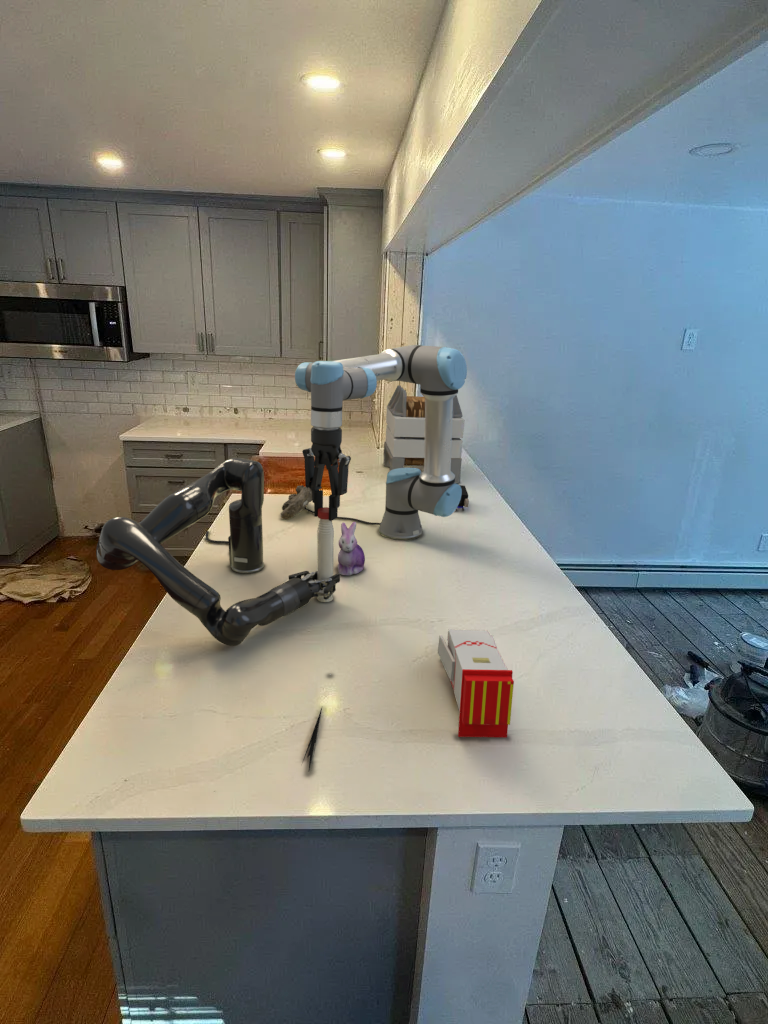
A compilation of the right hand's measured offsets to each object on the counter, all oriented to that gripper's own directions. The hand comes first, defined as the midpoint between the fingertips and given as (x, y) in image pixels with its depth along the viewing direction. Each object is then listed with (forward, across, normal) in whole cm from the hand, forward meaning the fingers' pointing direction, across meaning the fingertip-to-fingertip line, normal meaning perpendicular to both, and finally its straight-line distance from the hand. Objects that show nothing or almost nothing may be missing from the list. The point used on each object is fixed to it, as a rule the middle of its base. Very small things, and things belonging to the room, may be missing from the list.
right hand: (325, 517), depth 146 cm
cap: (-2, 0, 0) cm, 2 cm away
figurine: (+24, +5, -19) cm, 30 cm away
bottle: (+24, 0, 0) cm, 24 cm away
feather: (+24, -28, +39) cm, 53 cm away
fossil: (+24, +50, -49) cm, 73 cm away
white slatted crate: (+24, +40, -127) cm, 135 cm away
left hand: (+17, 0, -3) cm, 18 cm away
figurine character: (+24, +3, -93) cm, 96 cm away
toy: (+24, -49, +14) cm, 56 cm away
